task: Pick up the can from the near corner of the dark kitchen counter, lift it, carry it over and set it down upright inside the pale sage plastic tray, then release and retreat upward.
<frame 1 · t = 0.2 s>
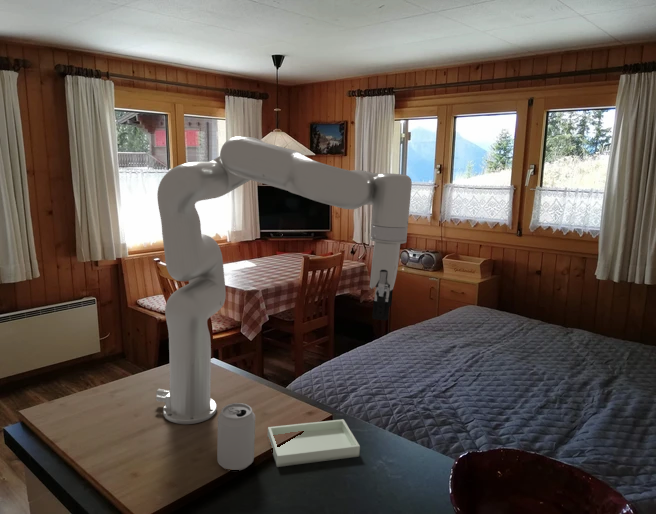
hand: (382, 312, 109), 31 cm above the kitchen counter, tool pointing down, fingers open, 9 cm apart
can: (235, 463, 105), on the kitchen counter
tray: (312, 446, 112), on the kitchen counter
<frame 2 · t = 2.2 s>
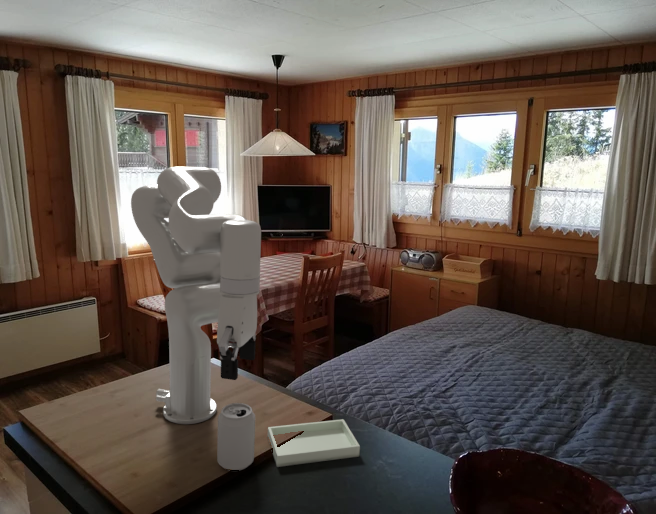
hand: (238, 368, 101), 21 cm above the kitchen counter, tool pointing down, fingers open, 9 cm apart
nothing on the kitchen counter moved.
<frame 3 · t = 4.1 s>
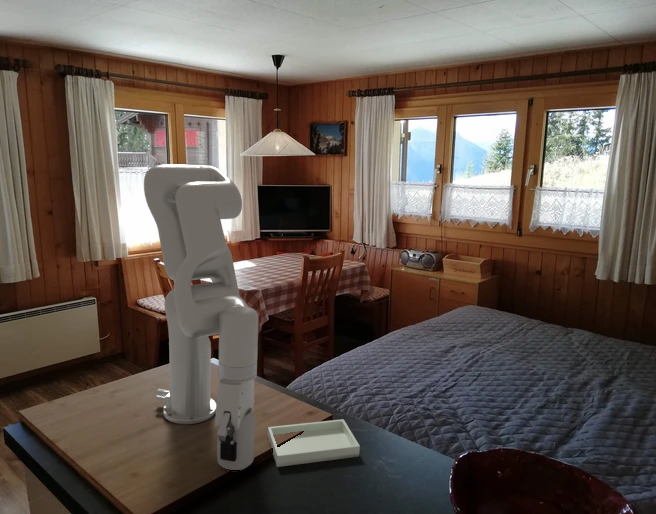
hand: (236, 447, 105), 3 cm above the kitchen counter, tool pointing down, fingers closed on can, 7 cm apart
can: (235, 463, 105), on the kitchen counter, touching gripper
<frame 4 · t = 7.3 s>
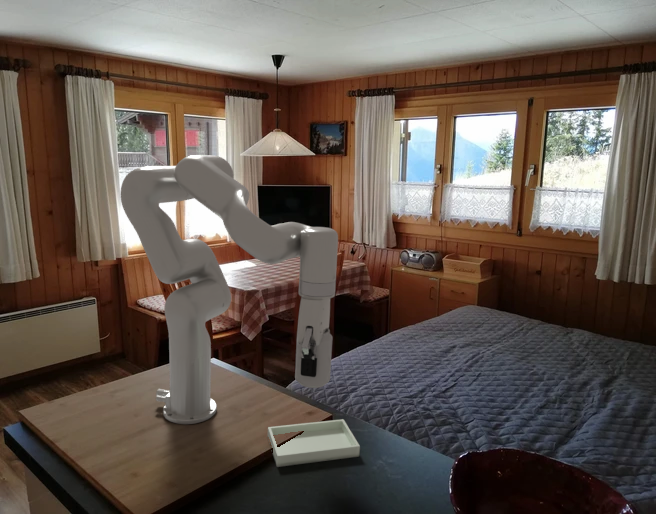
hand: (313, 367, 108), 19 cm above the kitchen counter, tool pointing down, fingers closed on can, 7 cm apart
can: (312, 382, 109), point 15 cm above the kitchen counter, touching gripper
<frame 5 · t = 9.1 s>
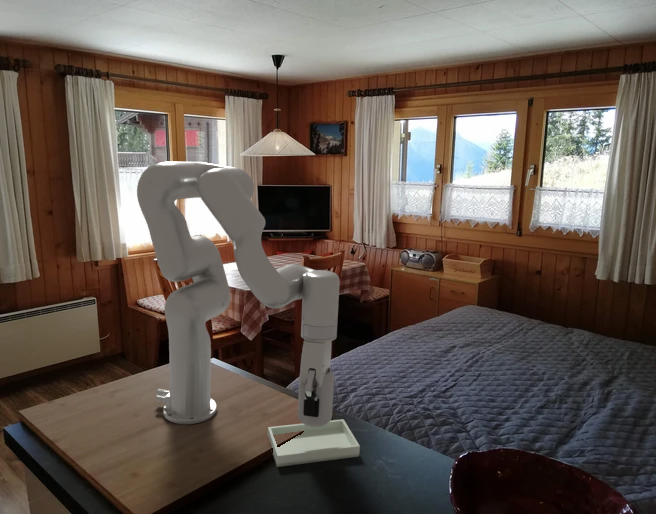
hand: (315, 406, 110), 10 cm above the kitchen counter, tool pointing down, fingers closed on can, 7 cm apart
can: (314, 420, 111), point 6 cm above the kitchen counter, touching gripper
when the fingers open (5 cm above the kitchen counter, at t = 10.6 s): can drops 1 cm, resting on tray.
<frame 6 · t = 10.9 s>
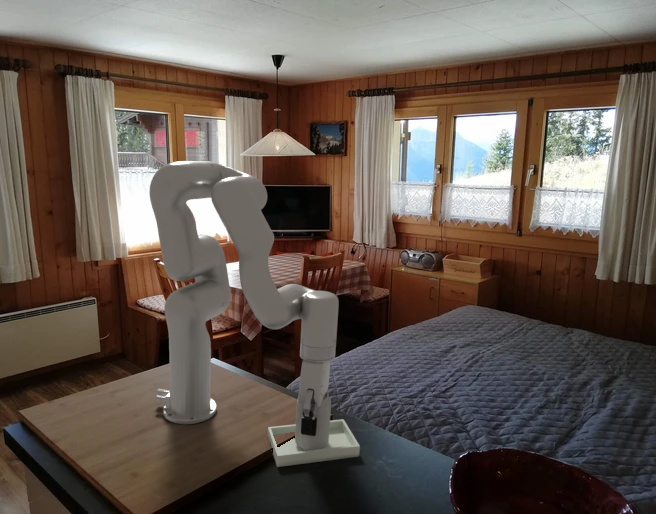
hand: (313, 422, 111), 6 cm above the kitchen counter, tool pointing down, fingers open, 9 cm apart
can: (311, 444, 112), resting on tray
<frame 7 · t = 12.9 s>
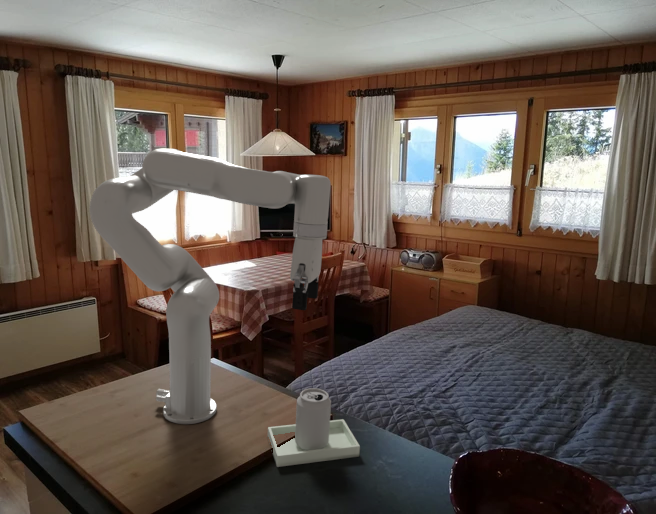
hand: (305, 303, 118), 29 cm above the kitchen counter, tool pointing down, fingers open, 9 cm apart
nothing on the kitchen counter moved.
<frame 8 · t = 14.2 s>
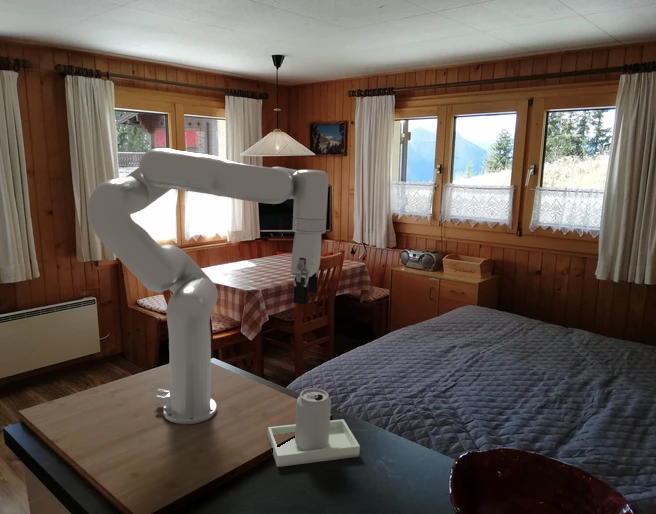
hand: (305, 297, 119), 30 cm above the kitchen counter, tool pointing down, fingers open, 9 cm apart
nothing on the kitchen counter moved.
at the end: can 0.2 cm off-centre on the tray, point 0.4 cm above the tray's base; can tilted 0°; the gripper is holding nothing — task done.
